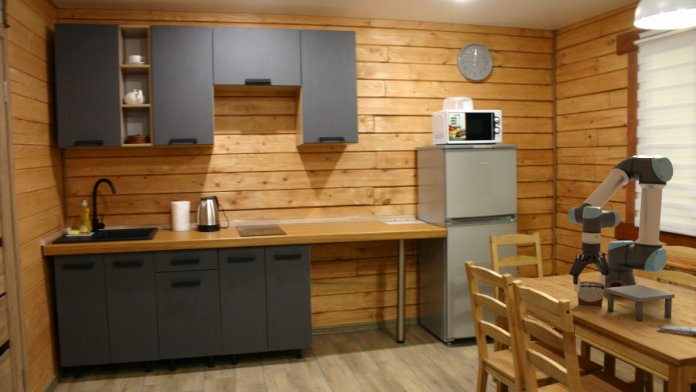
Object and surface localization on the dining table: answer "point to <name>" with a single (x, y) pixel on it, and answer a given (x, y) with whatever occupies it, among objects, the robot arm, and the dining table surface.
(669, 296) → the small gray table
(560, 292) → the dining table surface
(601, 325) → the dining table surface
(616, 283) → the pottery mug
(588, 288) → the food container
